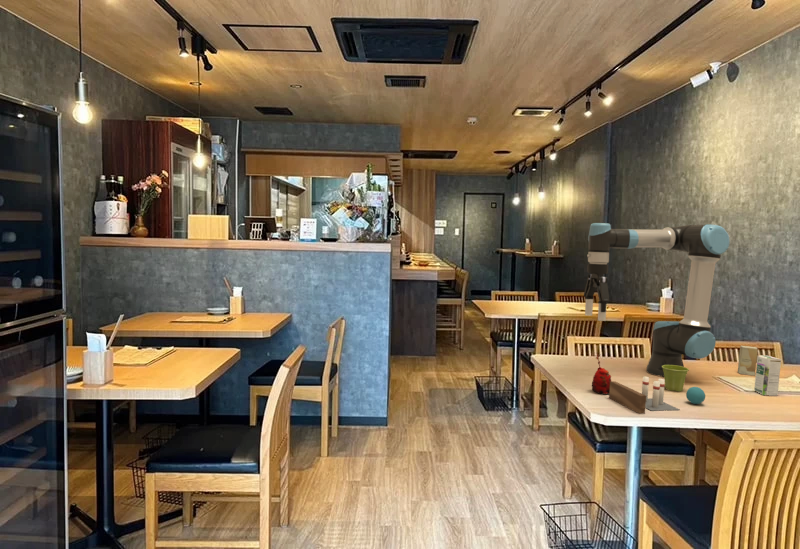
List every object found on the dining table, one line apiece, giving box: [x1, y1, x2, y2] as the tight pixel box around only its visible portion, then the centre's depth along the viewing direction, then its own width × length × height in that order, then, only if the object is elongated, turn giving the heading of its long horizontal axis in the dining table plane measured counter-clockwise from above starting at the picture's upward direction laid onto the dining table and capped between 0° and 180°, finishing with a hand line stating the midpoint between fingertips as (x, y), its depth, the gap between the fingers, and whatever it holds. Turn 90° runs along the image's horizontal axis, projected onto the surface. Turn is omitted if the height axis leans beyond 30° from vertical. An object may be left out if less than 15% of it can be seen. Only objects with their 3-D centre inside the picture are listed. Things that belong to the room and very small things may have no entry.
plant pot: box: [662, 365, 690, 392], centre depth 216 cm, size 9×9×9 cm
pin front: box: [657, 378, 665, 405], centre depth 195 cm, size 2×2×9 cm
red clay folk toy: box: [591, 352, 612, 395], centre depth 208 cm, size 8×7×15 cm
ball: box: [685, 386, 706, 405], centre depth 198 cm, size 6×6×6 cm
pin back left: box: [651, 380, 660, 408], centre depth 191 cm, size 2×2×9 cm
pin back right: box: [641, 375, 650, 402], centre depth 197 cm, size 2×2×9 cm
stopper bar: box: [608, 380, 646, 415], centre depth 193 cm, size 2×18×6 cm, turn 11°
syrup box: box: [753, 354, 782, 397], centre depth 215 cm, size 6×6×14 cm
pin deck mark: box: [645, 397, 681, 412], centre depth 195 cm, size 11×13×1 cm
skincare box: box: [737, 345, 758, 377], centre depth 248 cm, size 6×4×12 cm
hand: (594, 318), depth 216 cm, fingers open, 13 cm apart
